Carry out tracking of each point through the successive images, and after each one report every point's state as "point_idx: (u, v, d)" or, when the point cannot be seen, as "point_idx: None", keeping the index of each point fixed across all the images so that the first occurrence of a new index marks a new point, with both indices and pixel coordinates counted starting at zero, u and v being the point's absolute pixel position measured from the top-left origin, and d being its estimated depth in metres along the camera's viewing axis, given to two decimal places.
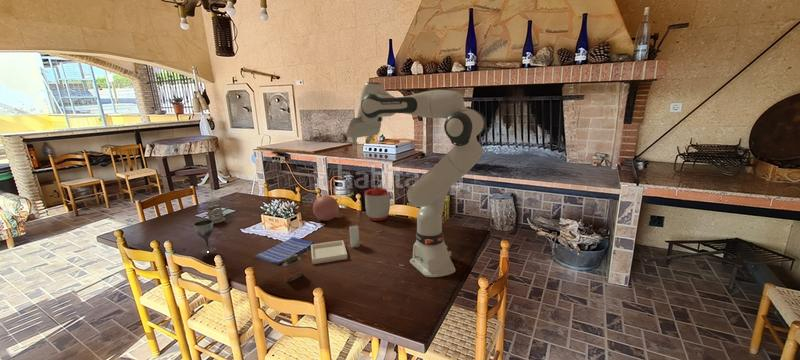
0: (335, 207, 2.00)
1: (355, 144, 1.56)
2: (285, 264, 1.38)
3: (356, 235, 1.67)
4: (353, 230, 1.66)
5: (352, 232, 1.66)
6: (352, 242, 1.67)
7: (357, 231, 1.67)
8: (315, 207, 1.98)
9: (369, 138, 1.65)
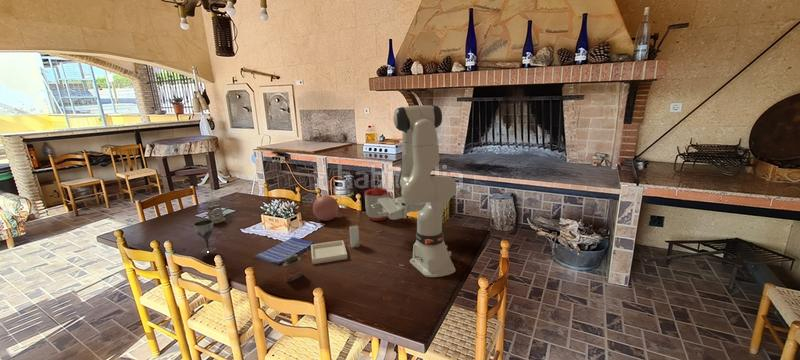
0: (335, 207, 2.00)
1: (373, 204, 1.73)
2: (285, 264, 1.38)
3: (356, 235, 1.67)
4: (353, 230, 1.66)
5: (352, 232, 1.66)
6: (352, 242, 1.67)
7: (357, 231, 1.67)
8: (315, 207, 1.98)
9: None
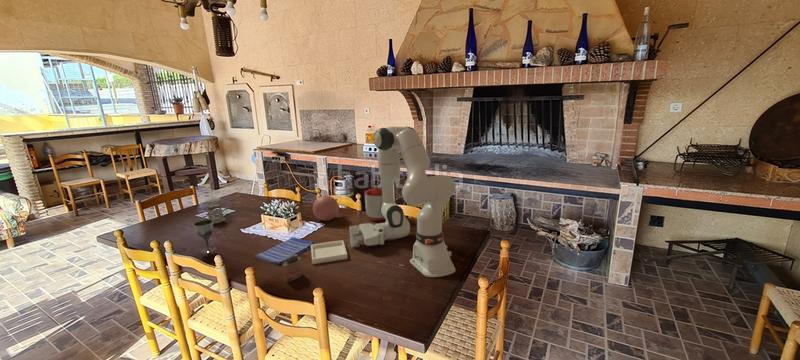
0: (335, 207, 2.00)
1: None
2: (285, 264, 1.38)
3: None
4: (353, 230, 1.66)
5: (352, 232, 1.66)
6: (352, 242, 1.67)
7: (357, 231, 1.67)
8: (315, 207, 1.98)
9: None
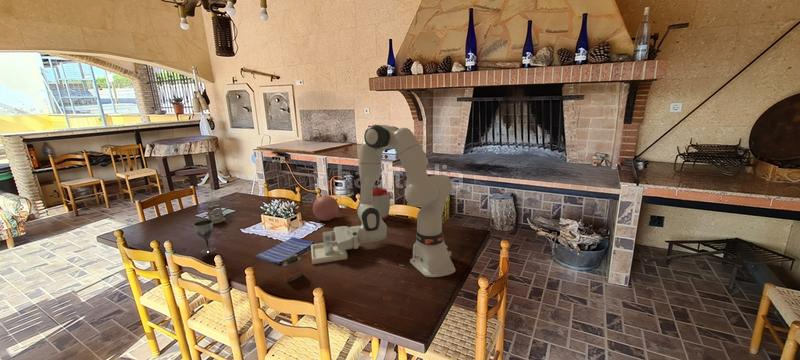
0: (335, 207, 2.00)
1: None
2: (285, 264, 1.38)
3: None
4: (326, 236, 1.58)
5: (325, 238, 1.58)
6: (325, 249, 1.59)
7: (330, 237, 1.58)
8: (315, 207, 1.98)
9: None
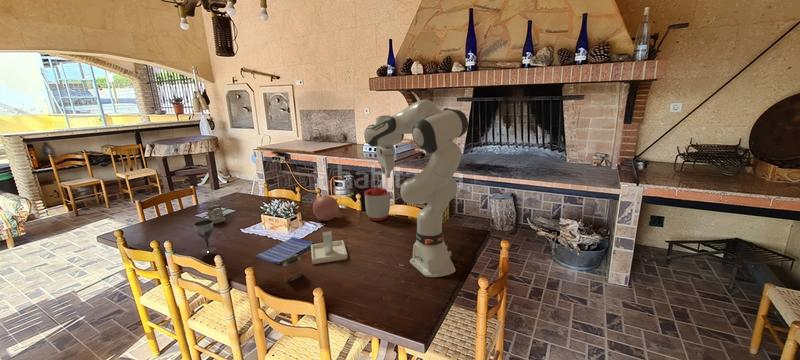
0: (335, 207, 2.00)
1: None
2: (285, 264, 1.38)
3: (329, 241, 1.59)
4: (326, 236, 1.58)
5: (325, 238, 1.58)
6: (325, 249, 1.59)
7: (330, 237, 1.58)
8: (315, 207, 1.98)
9: None
